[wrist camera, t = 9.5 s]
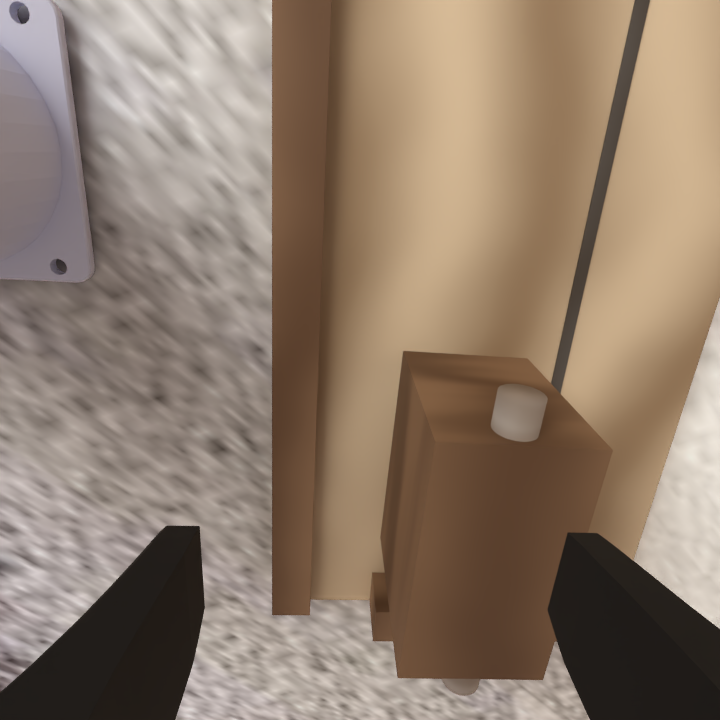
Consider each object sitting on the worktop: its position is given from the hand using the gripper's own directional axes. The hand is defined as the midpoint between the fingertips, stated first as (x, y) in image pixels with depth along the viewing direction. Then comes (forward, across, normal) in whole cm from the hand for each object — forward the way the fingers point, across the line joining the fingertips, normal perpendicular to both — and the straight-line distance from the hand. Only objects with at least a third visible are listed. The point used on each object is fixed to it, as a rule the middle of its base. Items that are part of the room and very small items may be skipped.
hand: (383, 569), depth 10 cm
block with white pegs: (+9, -4, +3) cm, 10 cm away
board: (+10, -4, -4) cm, 11 cm away
